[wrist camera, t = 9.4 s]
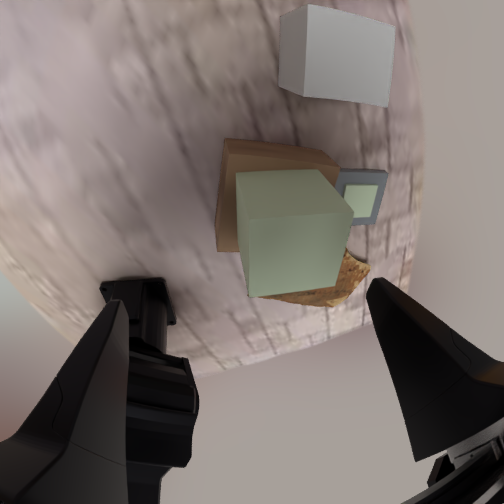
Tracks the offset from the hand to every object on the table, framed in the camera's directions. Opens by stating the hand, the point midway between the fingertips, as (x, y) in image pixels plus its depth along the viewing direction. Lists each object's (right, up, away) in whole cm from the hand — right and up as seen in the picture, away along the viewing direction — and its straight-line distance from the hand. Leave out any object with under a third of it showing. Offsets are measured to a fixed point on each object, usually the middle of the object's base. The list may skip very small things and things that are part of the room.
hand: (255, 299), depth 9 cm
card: (+8, +6, +12) cm, 16 cm away
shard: (+6, -1, +19) cm, 20 cm away
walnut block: (+1, +6, +11) cm, 13 cm away
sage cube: (+1, +4, +8) cm, 10 cm away
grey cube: (+4, +14, +5) cm, 16 cm away
